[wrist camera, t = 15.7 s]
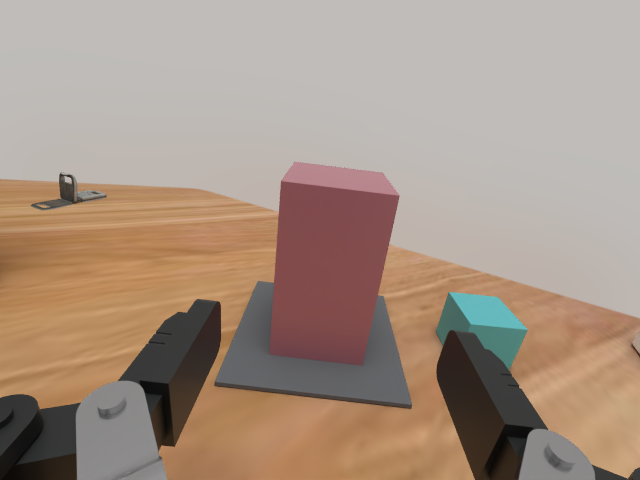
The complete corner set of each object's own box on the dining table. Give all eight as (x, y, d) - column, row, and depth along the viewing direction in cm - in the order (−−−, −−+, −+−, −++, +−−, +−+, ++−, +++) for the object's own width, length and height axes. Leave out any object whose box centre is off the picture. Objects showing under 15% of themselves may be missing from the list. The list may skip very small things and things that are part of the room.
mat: (214, 385, 19) (214, 381, 19) (257, 283, 30) (257, 281, 30) (411, 408, 19) (412, 404, 19) (382, 298, 30) (383, 296, 30)
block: (454, 368, 23) (470, 324, 22) (435, 332, 27) (448, 292, 25) (507, 373, 23) (527, 329, 22) (481, 336, 27) (497, 297, 25)
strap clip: (95, 195, 49) (90, 167, 47) (109, 199, 48) (104, 171, 46) (29, 208, 41) (21, 175, 40) (44, 213, 40) (36, 180, 39)
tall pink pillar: (269, 354, 22) (281, 180, 17) (282, 301, 28) (294, 161, 23) (362, 365, 22) (399, 195, 17) (356, 310, 28) (382, 172, 23)
